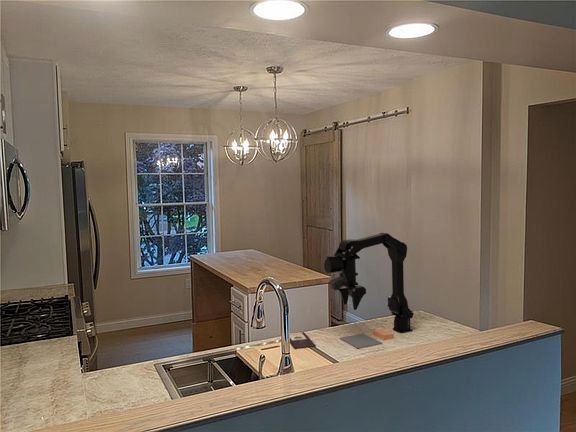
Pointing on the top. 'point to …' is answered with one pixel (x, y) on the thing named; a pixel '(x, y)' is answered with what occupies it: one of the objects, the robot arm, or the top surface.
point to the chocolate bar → (300, 341)
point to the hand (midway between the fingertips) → (350, 307)
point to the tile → (383, 334)
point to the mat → (360, 340)
